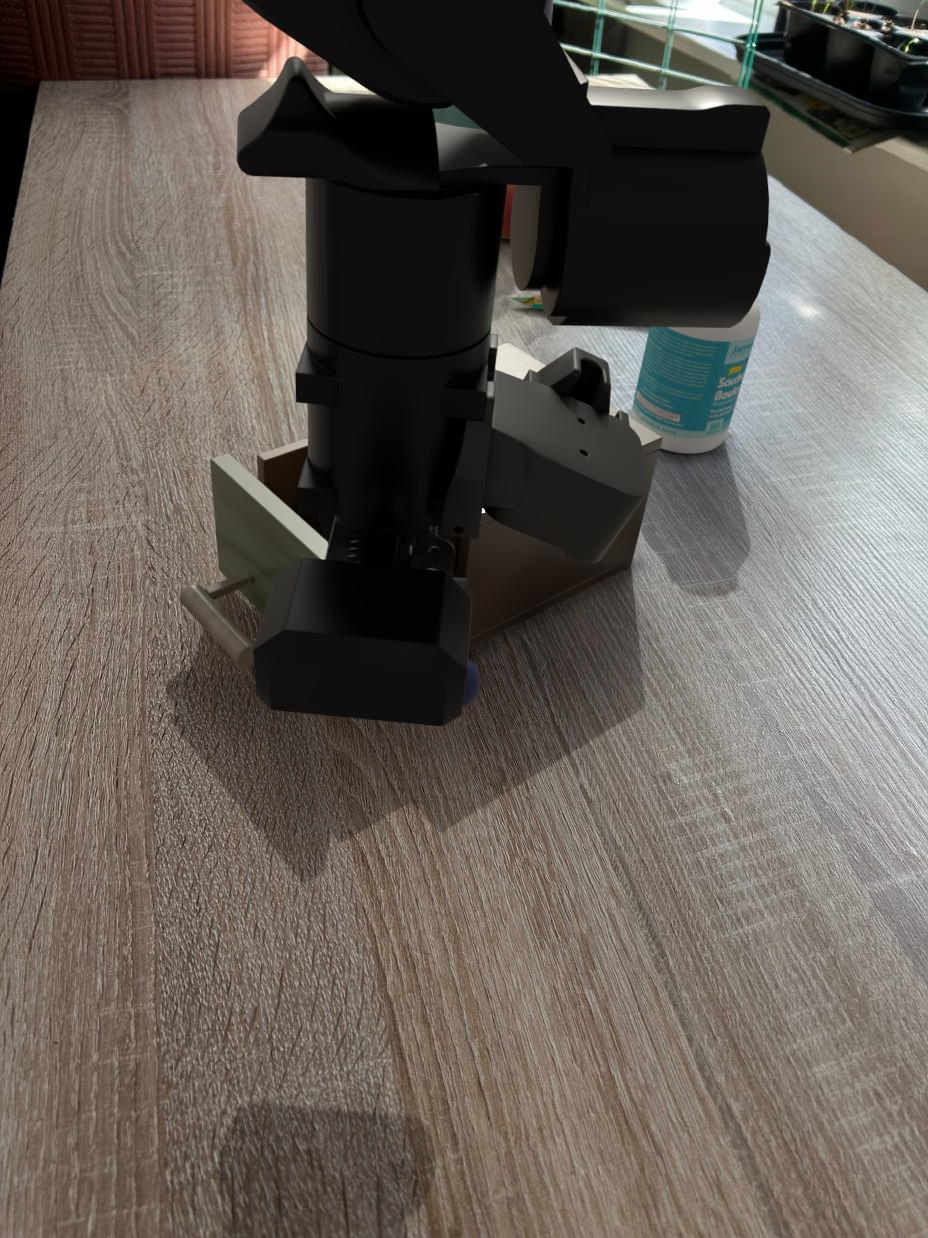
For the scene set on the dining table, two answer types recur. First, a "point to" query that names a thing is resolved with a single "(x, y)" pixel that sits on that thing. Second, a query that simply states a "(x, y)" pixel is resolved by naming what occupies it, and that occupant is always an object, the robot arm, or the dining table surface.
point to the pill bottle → (693, 382)
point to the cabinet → (537, 547)
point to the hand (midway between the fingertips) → (381, 676)
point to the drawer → (256, 539)
